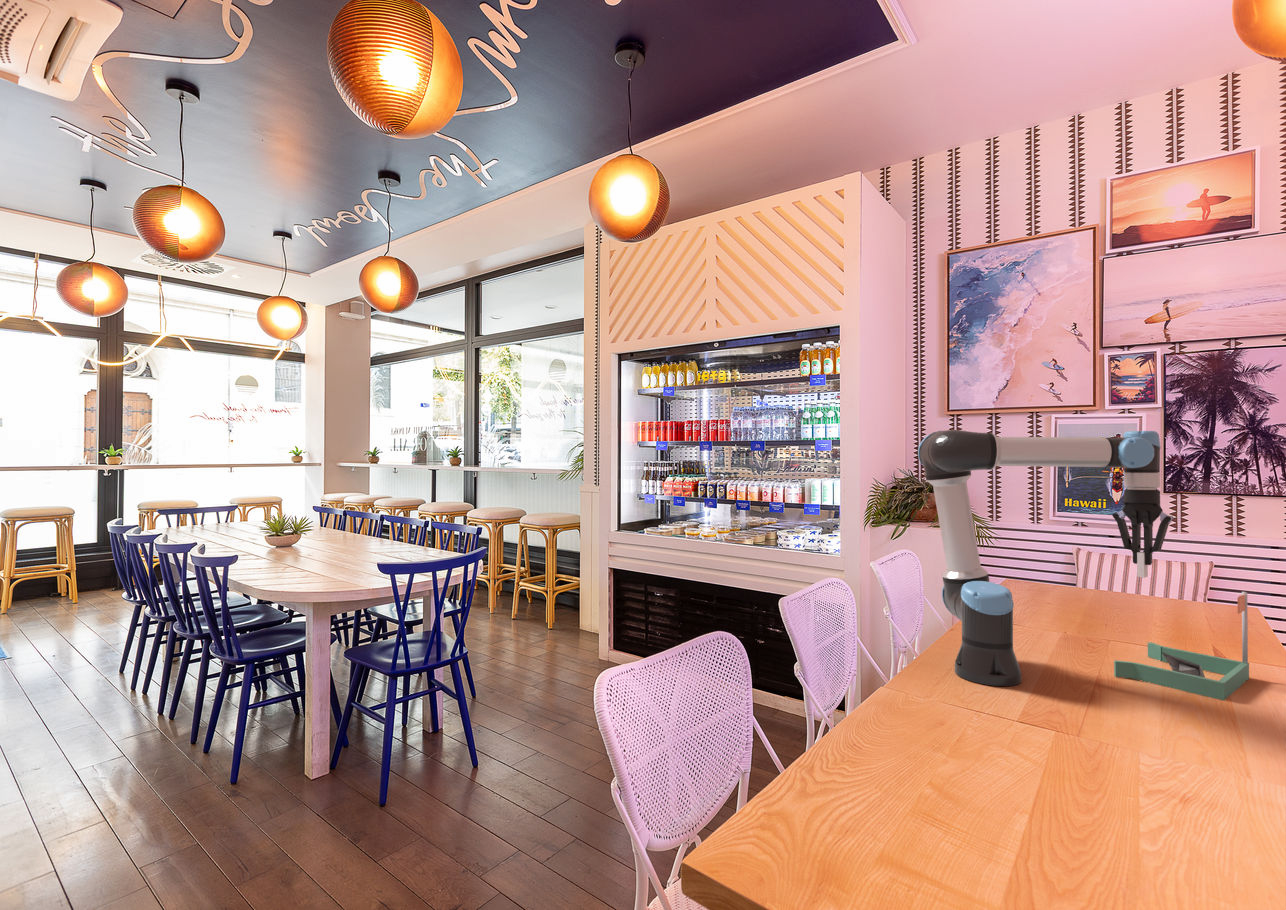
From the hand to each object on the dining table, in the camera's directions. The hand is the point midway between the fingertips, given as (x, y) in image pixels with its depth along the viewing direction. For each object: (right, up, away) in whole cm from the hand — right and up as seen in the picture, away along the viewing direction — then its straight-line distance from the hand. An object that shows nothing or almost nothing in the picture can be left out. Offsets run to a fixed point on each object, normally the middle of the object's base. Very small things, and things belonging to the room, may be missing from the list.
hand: (1142, 576), depth 166 cm
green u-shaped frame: (+5, -24, -7) cm, 26 cm away
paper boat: (+1, -25, -11) cm, 27 cm away
